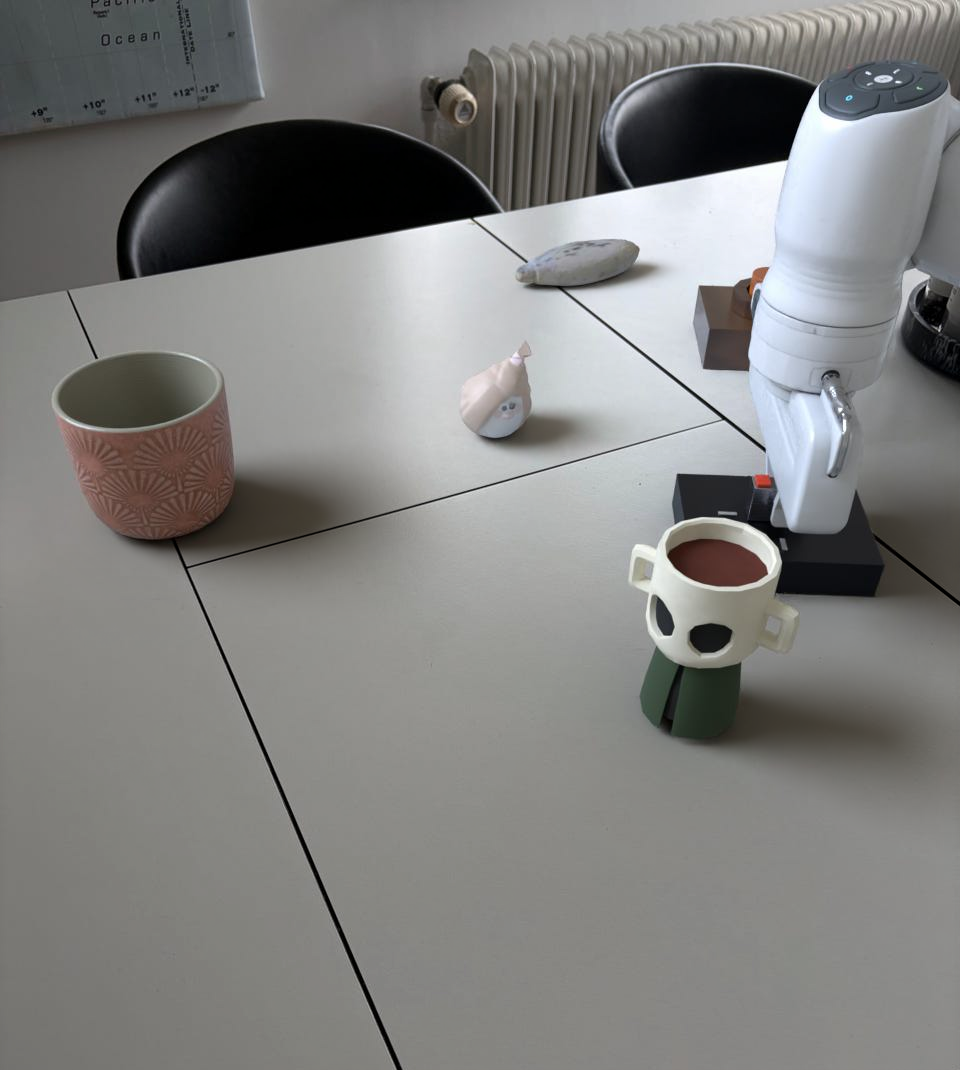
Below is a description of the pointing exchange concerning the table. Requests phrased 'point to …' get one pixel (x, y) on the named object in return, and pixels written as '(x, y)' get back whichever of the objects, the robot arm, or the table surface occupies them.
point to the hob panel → (791, 538)
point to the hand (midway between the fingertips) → (777, 510)
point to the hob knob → (760, 497)
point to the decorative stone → (579, 263)
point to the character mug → (707, 619)
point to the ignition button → (757, 277)
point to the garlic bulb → (498, 397)
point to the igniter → (724, 325)
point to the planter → (149, 440)
